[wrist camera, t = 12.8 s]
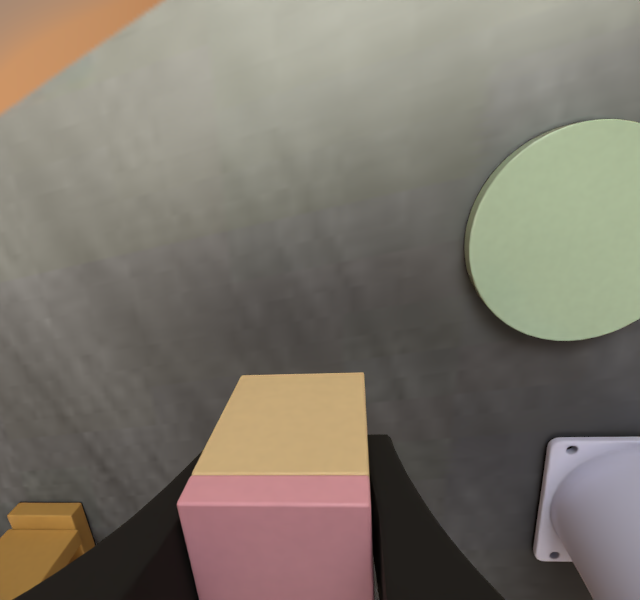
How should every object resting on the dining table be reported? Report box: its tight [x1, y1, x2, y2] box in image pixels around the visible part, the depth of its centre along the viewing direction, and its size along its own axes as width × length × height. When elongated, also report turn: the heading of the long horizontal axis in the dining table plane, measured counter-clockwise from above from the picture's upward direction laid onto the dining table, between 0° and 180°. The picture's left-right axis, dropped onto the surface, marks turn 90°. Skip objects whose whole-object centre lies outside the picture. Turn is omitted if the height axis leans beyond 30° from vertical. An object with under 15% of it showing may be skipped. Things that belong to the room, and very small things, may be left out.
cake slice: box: [177, 373, 375, 600], centre depth 11 cm, size 4×4×5 cm
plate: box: [464, 119, 640, 341], centre depth 17 cm, size 9×9×1 cm
